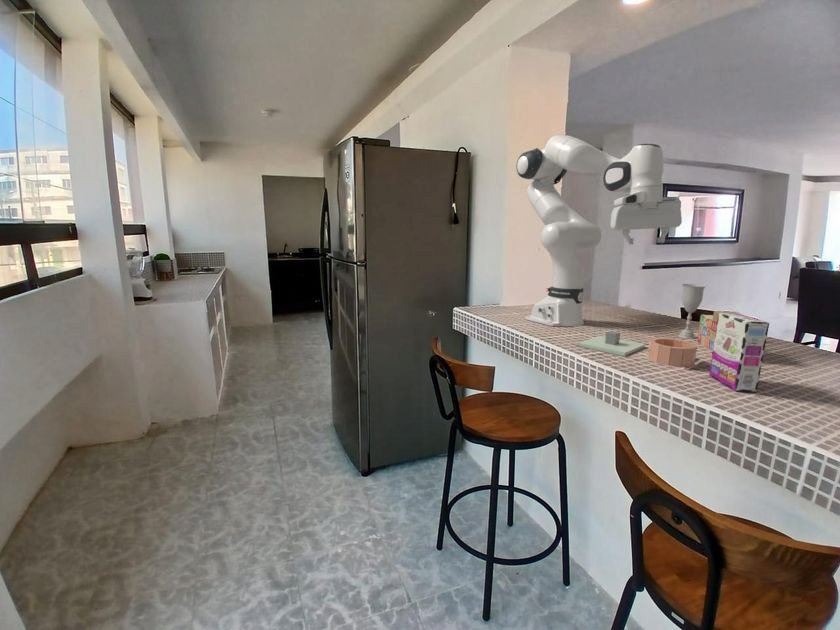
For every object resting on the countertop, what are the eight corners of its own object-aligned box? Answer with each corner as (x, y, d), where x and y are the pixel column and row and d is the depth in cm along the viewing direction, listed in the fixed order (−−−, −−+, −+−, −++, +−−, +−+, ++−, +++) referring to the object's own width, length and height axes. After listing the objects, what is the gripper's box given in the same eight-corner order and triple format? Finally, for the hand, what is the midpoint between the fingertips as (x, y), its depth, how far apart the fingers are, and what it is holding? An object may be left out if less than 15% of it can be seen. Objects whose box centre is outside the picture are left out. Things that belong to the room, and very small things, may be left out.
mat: (574, 347, 132) (574, 345, 132) (599, 339, 143) (599, 337, 142) (626, 359, 120) (626, 357, 120) (649, 349, 131) (649, 347, 131)
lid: (579, 345, 132) (580, 331, 131) (600, 338, 141) (601, 325, 140) (624, 355, 122) (626, 340, 121) (644, 347, 131) (646, 333, 130)
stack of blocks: (696, 341, 141) (701, 305, 139) (717, 343, 140) (723, 306, 137) (725, 360, 121) (732, 318, 118) (750, 362, 119) (758, 319, 117)
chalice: (699, 340, 142) (706, 287, 138) (675, 337, 145) (682, 285, 142) (697, 335, 148) (705, 284, 145) (675, 333, 151) (681, 283, 148)
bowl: (641, 361, 119) (643, 342, 118) (656, 354, 126) (659, 336, 125) (685, 371, 111) (688, 351, 110) (699, 362, 118) (701, 343, 117)
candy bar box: (758, 392, 96) (771, 322, 93) (735, 391, 97) (746, 321, 94) (728, 376, 107) (739, 312, 104) (707, 375, 108) (717, 312, 104)
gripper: (675, 197, 133) (674, 242, 135) (608, 201, 134) (608, 245, 136) (686, 194, 127) (685, 241, 128) (617, 198, 128) (616, 244, 130)
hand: (645, 243), depth 132 cm, fingers open, 8 cm apart
